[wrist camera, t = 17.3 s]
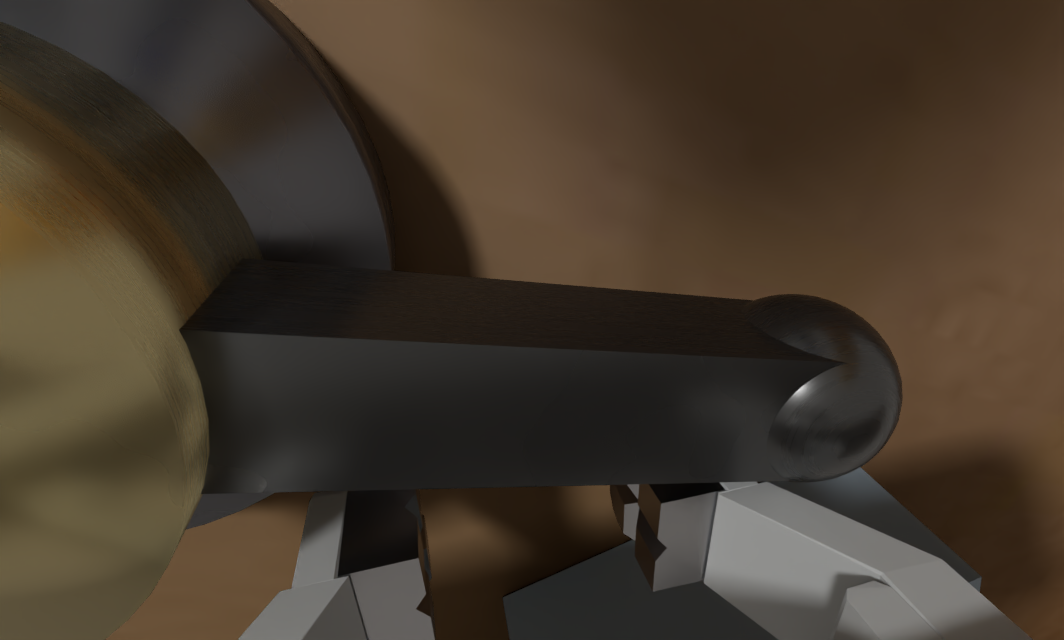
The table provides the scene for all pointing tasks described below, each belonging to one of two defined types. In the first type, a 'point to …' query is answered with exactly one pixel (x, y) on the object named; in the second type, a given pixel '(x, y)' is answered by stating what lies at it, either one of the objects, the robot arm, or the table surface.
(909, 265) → the table surface
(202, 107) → the crank base
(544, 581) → the slot block
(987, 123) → the table surface
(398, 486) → the brass knob crank
